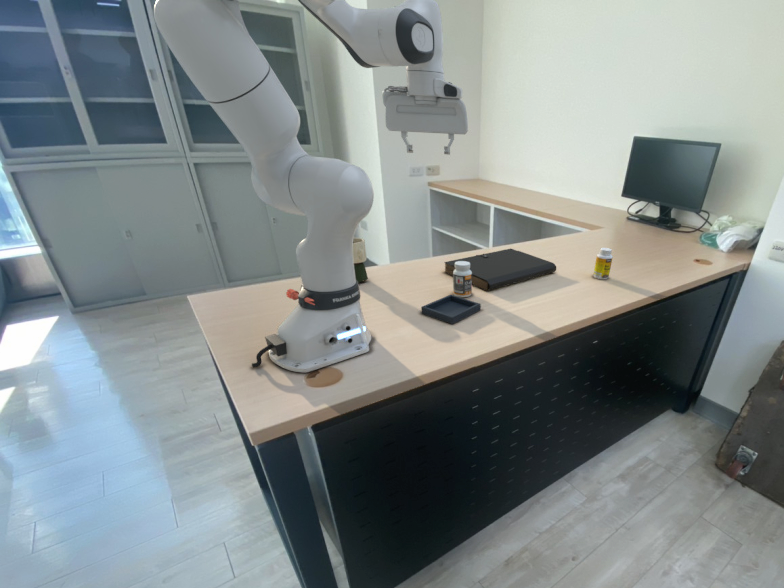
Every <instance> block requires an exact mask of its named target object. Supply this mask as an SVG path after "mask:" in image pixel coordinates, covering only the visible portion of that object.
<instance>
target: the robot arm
mask: <svg viewBox="0 0 784 588" xmlns="http://www.w3.org/2000/svg"><path fill="white" fill-rule="evenodd" d="M297 1H298V3H300V4H301V6H303V7H304V8H305V9H306V11H308V12H309V14H311V16H312V17H314V18H315V19H316V20H318V21H319V23H321V24H322V25H323V26H324V27H325V28H326V29H327V30H328V31H329V32H330V33H332V34H333V35H334V36H335V37H336V38H337V39H338V40H339V41H340V42H341V44H342V45H343V46H344V48H345V49H346V50H347V52H348V53H349V55H350V56H351V58H352V59H353V60H354V62H356V64H358V65H359V66H360V67H362V68H364V69H373V68H380V67H405V73H406V86H401V85H399V86H394V85H388V86H387V87H386V88H385V89H383V91H382V103H383V105H384V107H385V127H386V129H387V130H388V131H389V132H400V136H401V138H402V140H403V142H404V144H405V145H406V153H408V154H413V153H414V144H410V142H409V140H408V138H407V137H408V135H409V133H424V134H425V133H426V134H443V135H444V134H446V135H448V140H449V142H448V144H447V146H446V145H444V146H443V154H444V155H451V147H452V145H453V142H454V140H455V135H466V134H467V133H468V132H469V124H468V123H469V121H468V114H467V108H466V104H465V103H464V101H463V100H462V99H463V97H464V96H463V95H464V91H463V89H462V88H461V87H460V86H457V85H455V84H453V83H452V82H450V81H446V80H445V70H444V66H443V56H444V31H443V21H442V14H441V10H440V5H439V4H438V2H437V1H436V0H404V1H403V2H401V3H399V4H398V5H395V6H394V7H381V8H358V7H355V6H352V5H350V4H349V3H348V2H347V1H346V0H297ZM153 18H154V22H155V25H156V27H157V29H158V31H159V33H160V35H161V37H162V38H163V40H164V41H165V44H166V45H167V46H168V48H169V50H170V51H171V53H172V54H173V56H174V58H175V59H176V61H177V62H178V64H179V66H180V67H181V68H182V70H183V71H184V73H185V75H186V76H187V77H188V78H189V80H190V81H191V82H192V84H193V85H194V86H195V88H196V89H197V90H198V92H199V93H200V94H201V96H202V97H203V99H205V100H206V102H207V103H208V104H209V106H210V107H211V108H212V110H213V111H214V112H215V113H216V115H217V116H218V117H219V118H220V120H221V121H222V122H223V124H224V125H225V126H226V128H227V129H228V130H229V131H230V133H231V134H232V135H233V137H234V138H235V139H236V141H237V142H238V143H239V144H240V146H241V148H242V149H243V151H244V153H245V155H246V156H247V158H248V160H249V162H250V164H251V173H250V179H251V180H250V181H251V186H252V188H253V190H254V193H255V194H256V195H257V197H258V199H260V200H261V202H263V203H264V204H266V205H268V206H269V207H272V208H275V209H276V210H279V211H281V212H283V213H286V214H291V215H296V216H303V217H306V220H307V230H306V236H305V238H303V239H302V240H301V241H299V243H298V244H297V246H296V248H295V257H296V261H297V265H298V266H297V267H298V270H299V274H300V279H301V284H300V288H299V291H297V290H294V289H293V288H289V289H287V290H286V292H285V293H286V297H287V298H289V299H291V300H292V301H298V302H297V303H298V304H297V305H296V306H295V308H294V309H293V310H292V311H291V312H290V313H289V315H288V316H287V317H286V318H285V319H284V320H283V322H281V324H280V325H279V326H278V328H277V331H276V333H273V334H271V335H265V336H264V339H265V342H266V346H265V347H264V348H262V349H260V350H259V352H257V354H256V356H255V357H256V362H252V363H251V366H252V368H258V367H260V366H261V365H262V356H263V355H264V354H266V352H268V357H269V359H270V360H271V361H272V362H273V363H274V364H276V365H277V366H279V367H280V368H282V369H285V370H287V371H291V372H296V373H310V372H313V371H316V370H319V369H322V368H324V367H328V366H330V365H333V364H337V363H340V362H342V361H346V360H348V359H352V358H355V357H357V356H360V355H363V354H366V353H368V352H369V351H370V346H369V344H370V343H371V341H372V334H371V332H370V330H369V328H368V326H367V323H366V320H365V317H364V313H363V310H362V305H361V301H360V300H361V291H360V290H361V289H360V283H359V282H358V281H357V280H356V277H355V269H354V260H353V239H354V238H355V234H356V231H357V228H358V227H359V225H360V224H361V222H362V221H363V220H364V219H365V218H366V217H367V216H368V215H369V213H370V211H371V210H372V207H373V204H374V195H375V194H374V187H373V184H372V181H371V179H370V176H369V175H368V174H367V172H366V171H365V170H364V169H362V168H361V167H360V166H357V165H356V164H352V163H350V162H348V161H346V160H343V159H339V158H335V157H334V158H332V157H323V156H315V155H310V154H309V153H308V152H306V151H305V150H304V148H303V147H302V146H301V143H300V141H299V139H298V137H297V136H298V134H299V131H300V127H301V116H300V113H299V111H298V108H297V107H296V105H295V103H294V102H293V100H292V99H291V97H290V95H289V93H288V92H287V90H286V89H285V87H284V85H283V84H282V82H281V81H280V79H279V78H278V76H277V74H276V73H275V71H274V70H273V68H272V67H271V64H270V63H269V62H268V60H267V59H266V56H264V53H263V52H262V50H261V49H260V48H259V46H258V45H257V43H256V42H255V40H254V39H253V38H252V36H251V35H250V33H249V30H248V29H247V27H246V24H245V22H244V18H243V15H242V12H241V8H240V2H239V0H155V4H154V5H153Z"/></svg>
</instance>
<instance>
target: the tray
mask: <svg viewBox="0 0 784 588" xmlns="http://www.w3.org/2000/svg"><path fill="white" fill-rule="evenodd" d="M481 307H482V306H481V303H479V302H476V301H473V300H470V299H467V298H465V297H457V296H455V295H454V294H448V295H446V296H444V297H442V298H439V299H436V300H434V301H432V302H430V303H427V304H425V305H422V306H421V307H420V309H421V314H422V315H425V316H427V317H430V318H433V319H437V320H439V321H442V322H444V323H447V324H450V325H454V324H456V323H459V322H460V321H462V320H464V319H466V318H468V317H470V316H472V315H474V314H476V313H477V312H481Z"/></svg>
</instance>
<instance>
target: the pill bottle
mask: <svg viewBox="0 0 784 588" xmlns="http://www.w3.org/2000/svg"><path fill="white" fill-rule="evenodd" d="M455 268H456V269H455V270H454V271H453V276H452V292H453V295H454V296H457V297H460V298H468V297H471V296H472V293H473V285H472V272H471V270H470V269H469V268H470V263H469V262H467V261H457V262H455Z"/></svg>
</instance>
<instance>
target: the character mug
mask: <svg viewBox="0 0 784 588" xmlns="http://www.w3.org/2000/svg"><path fill="white" fill-rule="evenodd" d="M353 260H354V269H355V277H356V280H357V281H358V283H362V282H364V281H367V280H368V279H369V277H368V273H367V269H366V265H365V262H366V261H367V249H366V241H365V239H363V238H361V237H354V239H353Z"/></svg>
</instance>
